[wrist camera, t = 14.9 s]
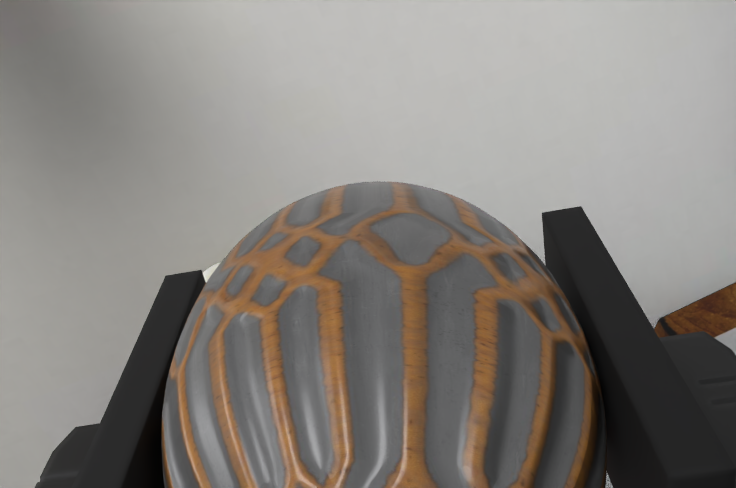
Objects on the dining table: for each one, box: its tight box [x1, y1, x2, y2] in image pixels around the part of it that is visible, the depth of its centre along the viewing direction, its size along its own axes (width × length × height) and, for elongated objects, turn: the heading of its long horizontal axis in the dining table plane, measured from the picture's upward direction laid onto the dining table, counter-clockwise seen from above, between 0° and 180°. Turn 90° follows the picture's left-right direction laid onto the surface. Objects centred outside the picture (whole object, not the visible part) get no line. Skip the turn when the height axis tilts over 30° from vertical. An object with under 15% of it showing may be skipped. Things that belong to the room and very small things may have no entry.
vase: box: [161, 182, 607, 488], centre depth 11 cm, size 7×7×9 cm
